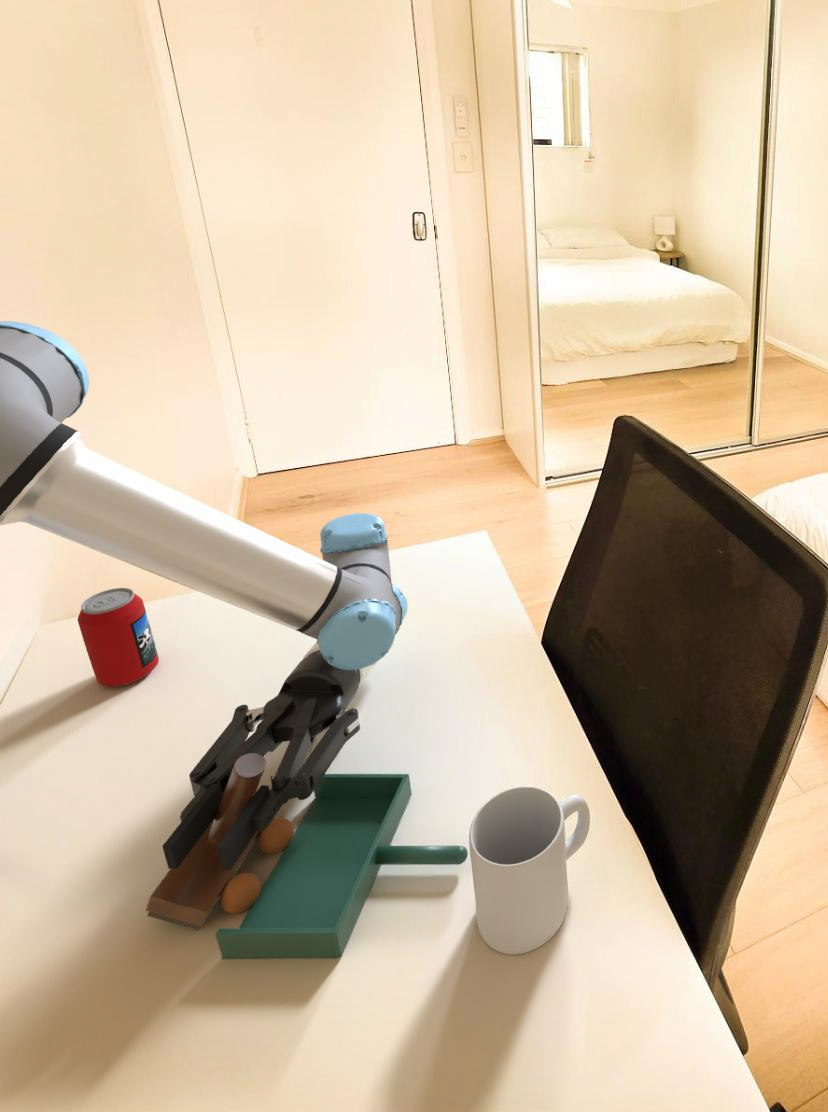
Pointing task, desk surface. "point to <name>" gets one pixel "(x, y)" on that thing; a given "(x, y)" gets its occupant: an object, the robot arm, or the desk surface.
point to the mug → (523, 865)
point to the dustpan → (330, 870)
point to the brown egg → (240, 893)
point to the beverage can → (117, 637)
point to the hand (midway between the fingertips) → (197, 857)
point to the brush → (208, 855)
